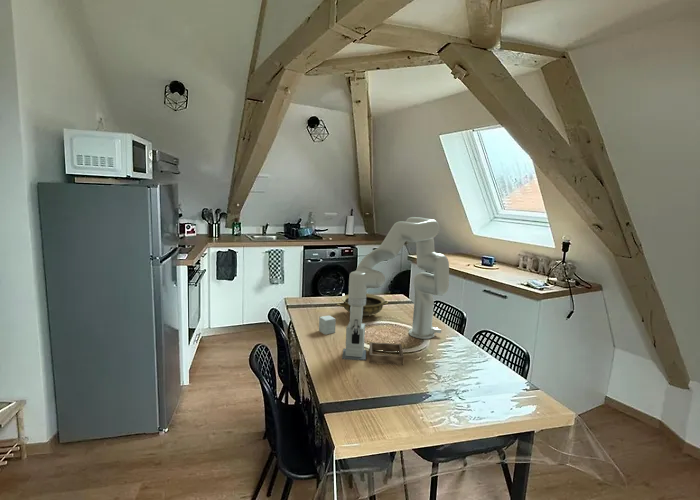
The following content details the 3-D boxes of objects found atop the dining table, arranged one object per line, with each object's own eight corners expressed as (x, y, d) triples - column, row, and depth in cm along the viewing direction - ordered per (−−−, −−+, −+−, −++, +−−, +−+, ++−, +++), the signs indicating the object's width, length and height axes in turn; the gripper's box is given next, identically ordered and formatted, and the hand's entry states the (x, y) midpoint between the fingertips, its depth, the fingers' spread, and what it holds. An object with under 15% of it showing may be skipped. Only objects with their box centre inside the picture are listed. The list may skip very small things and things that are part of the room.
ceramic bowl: (380, 308, 250) (381, 292, 248) (395, 321, 227) (396, 303, 225) (331, 310, 241) (331, 293, 239) (342, 324, 218) (342, 306, 217)
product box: (329, 329, 211) (329, 315, 210) (335, 332, 206) (336, 318, 205) (318, 330, 208) (319, 316, 207) (324, 334, 203) (325, 320, 202)
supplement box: (364, 351, 184) (365, 323, 182) (361, 357, 177) (363, 329, 175) (347, 349, 185) (349, 321, 183) (344, 355, 178) (346, 327, 176)
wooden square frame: (400, 351, 187) (401, 344, 186) (403, 365, 173) (403, 357, 173) (369, 349, 188) (369, 342, 187) (369, 362, 174) (369, 354, 173)
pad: (366, 351, 186) (366, 349, 186) (365, 360, 176) (365, 359, 176) (343, 349, 186) (343, 348, 186) (342, 359, 176) (342, 357, 176)
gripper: (349, 294, 186) (348, 331, 189) (347, 306, 169) (345, 346, 172) (366, 295, 185) (364, 332, 188) (366, 307, 168) (364, 347, 171)
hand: (355, 338), depth 180 cm, fingers open, 9 cm apart
